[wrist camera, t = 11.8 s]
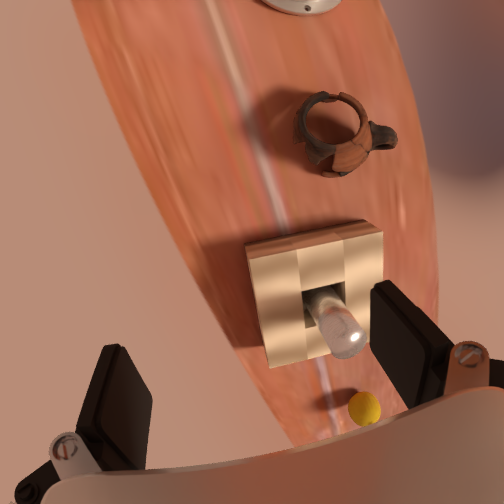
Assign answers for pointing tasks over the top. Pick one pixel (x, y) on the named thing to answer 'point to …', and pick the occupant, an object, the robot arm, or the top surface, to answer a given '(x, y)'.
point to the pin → (334, 322)
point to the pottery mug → (350, 151)
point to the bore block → (311, 284)
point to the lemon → (364, 408)
